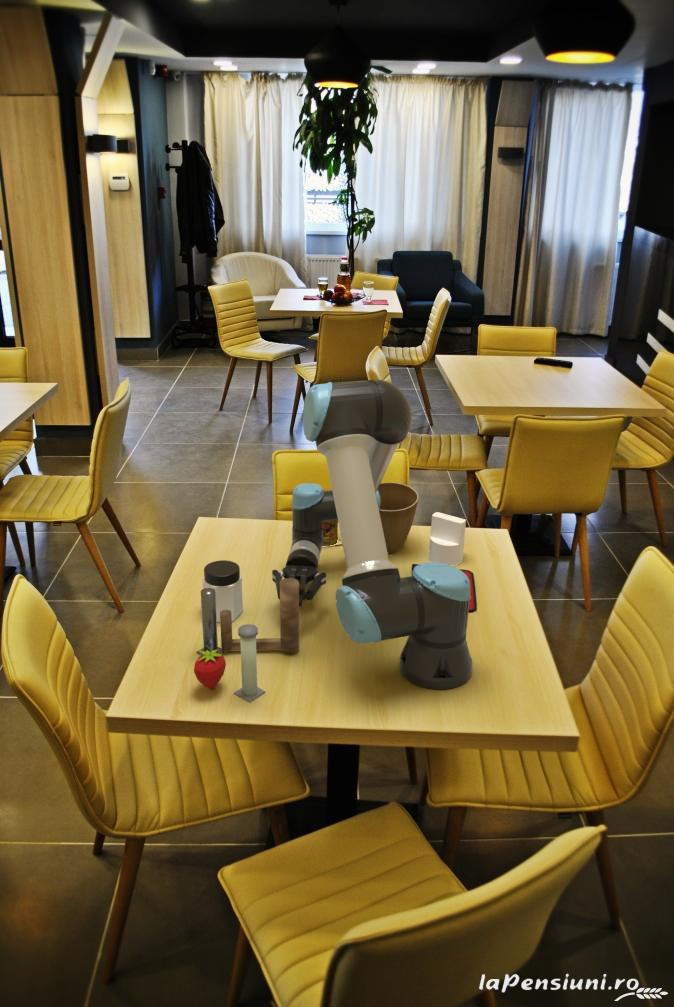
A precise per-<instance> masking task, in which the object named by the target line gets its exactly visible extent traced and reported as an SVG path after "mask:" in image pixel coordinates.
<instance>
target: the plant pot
mask: <svg viewBox="0 0 674 1007" xmlns="http://www.w3.org/2000/svg"><path fill="white" fill-rule="evenodd" d="M377 490H378V492H379V495H380V501H381V502H380V509H379V513H380V518H381V523H382V528H383V533H384V538H385V543H386V548H387V553H388V554H394V553H398V552H400V551H401V550H402V549H403V548H404V546H405V543H406V541H407V539H408V536H409V535H410V531H411V529H412V526H413V522H414V520H415V519H414V518H415V516H416V512H417V507H418V502H419V493H418V492H417V490H415V489H414V488H413V487H412V486H409V485H407V484H404V483H400V482H392V481H387V482H385V481H384V482H381V483H380V485H379V487H378V489H377Z"/></svg>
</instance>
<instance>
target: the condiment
mask: <svg viewBox="0 0 674 1007" xmlns="http://www.w3.org/2000/svg"><path fill="white" fill-rule="evenodd" d="M338 527H339V523H338V520H331V521H324V522H323V524H322V532H323V546H330V545H334V544H336V543H337V540H338V538H339V536H338V531H339V529H338Z"/></svg>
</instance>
